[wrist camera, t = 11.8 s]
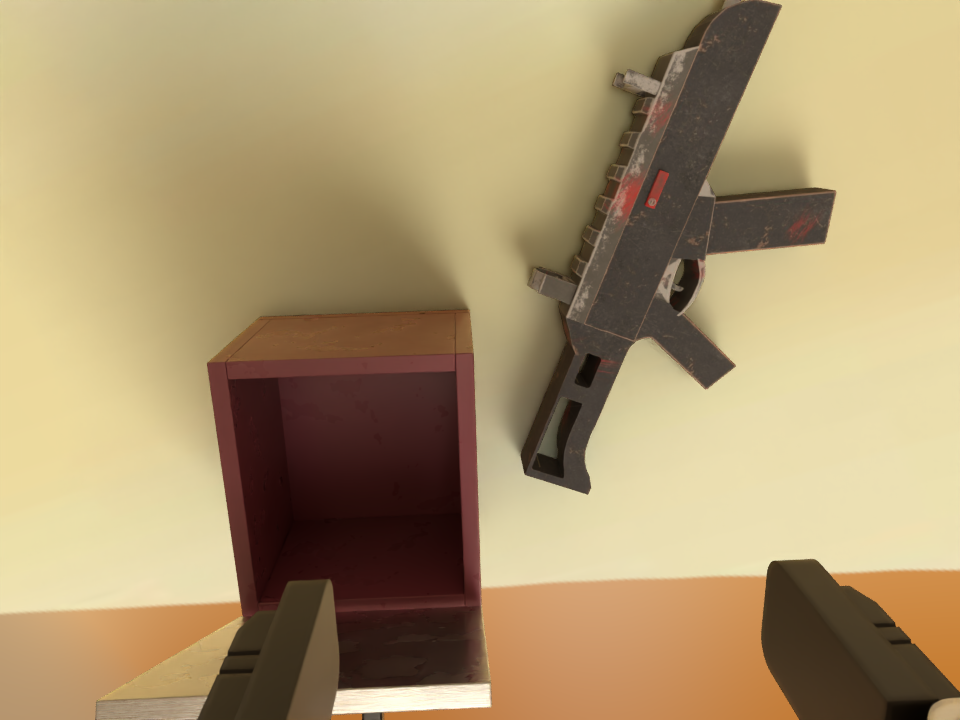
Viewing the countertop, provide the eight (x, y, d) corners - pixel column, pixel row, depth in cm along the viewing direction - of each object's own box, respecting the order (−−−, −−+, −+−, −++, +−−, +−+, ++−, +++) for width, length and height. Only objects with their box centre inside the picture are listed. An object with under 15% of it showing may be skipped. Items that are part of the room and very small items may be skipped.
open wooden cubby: (260, 316, 44) (206, 362, 35) (469, 309, 44) (473, 352, 35) (284, 525, 48) (242, 618, 39) (476, 517, 48) (481, 608, 39)
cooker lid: (95, 700, 23) (86, 892, 22) (490, 681, 24) (498, 870, 23) (240, 616, 38) (238, 729, 37) (481, 605, 38) (486, 717, 38)
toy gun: (672, 501, 49) (464, 435, 47) (904, 25, 41) (663, -82, 38) (688, 528, 46) (465, 458, 44) (944, 16, 37) (683, -102, 35)
